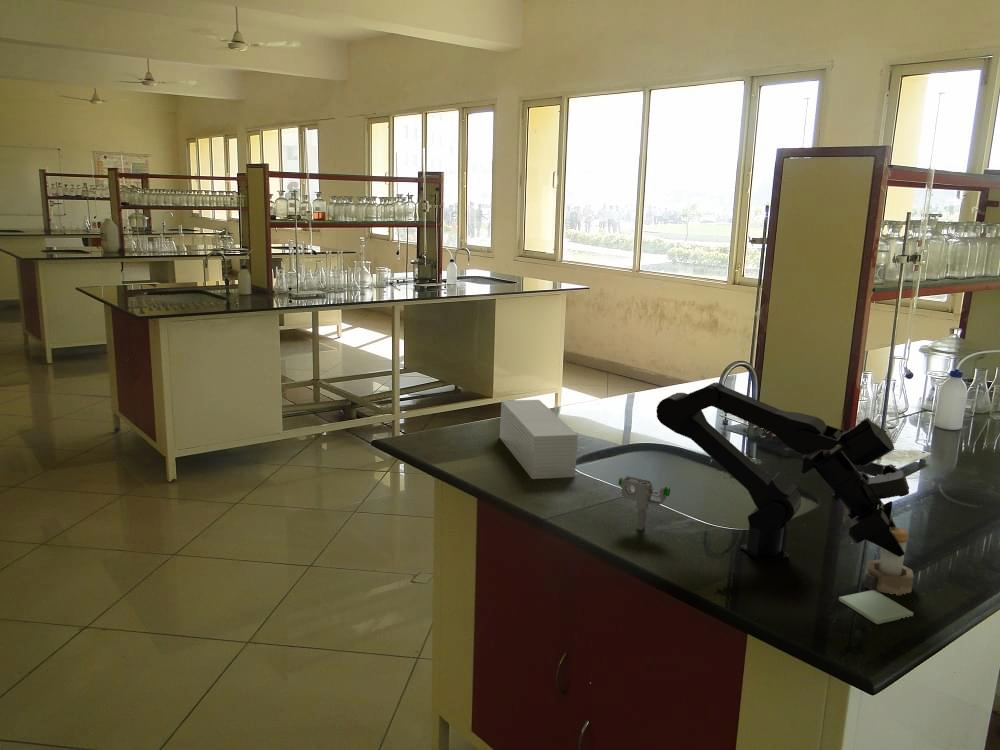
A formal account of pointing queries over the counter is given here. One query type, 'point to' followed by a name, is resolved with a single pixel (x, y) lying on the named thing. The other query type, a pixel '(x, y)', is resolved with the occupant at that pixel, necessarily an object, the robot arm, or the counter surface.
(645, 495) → the mechanical component
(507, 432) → the stack of papers
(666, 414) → the robot arm
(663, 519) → the counter surface
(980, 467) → the counter surface
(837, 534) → the counter surface
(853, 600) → the mat
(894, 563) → the bottle with orange cap
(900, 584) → the beige hollow ring
